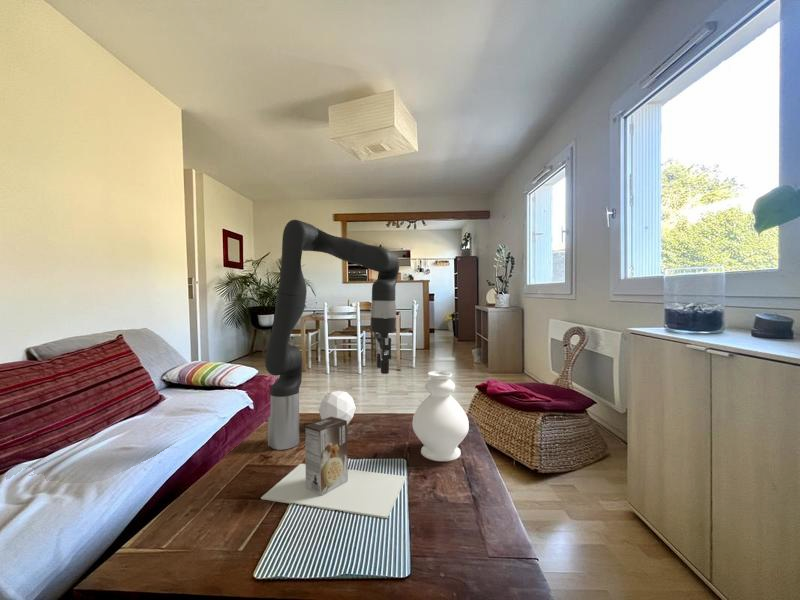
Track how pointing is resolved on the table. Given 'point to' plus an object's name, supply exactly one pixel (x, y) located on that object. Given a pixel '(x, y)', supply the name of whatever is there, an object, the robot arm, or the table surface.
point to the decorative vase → (440, 419)
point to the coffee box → (326, 455)
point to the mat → (342, 492)
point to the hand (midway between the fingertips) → (382, 370)
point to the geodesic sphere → (337, 406)
